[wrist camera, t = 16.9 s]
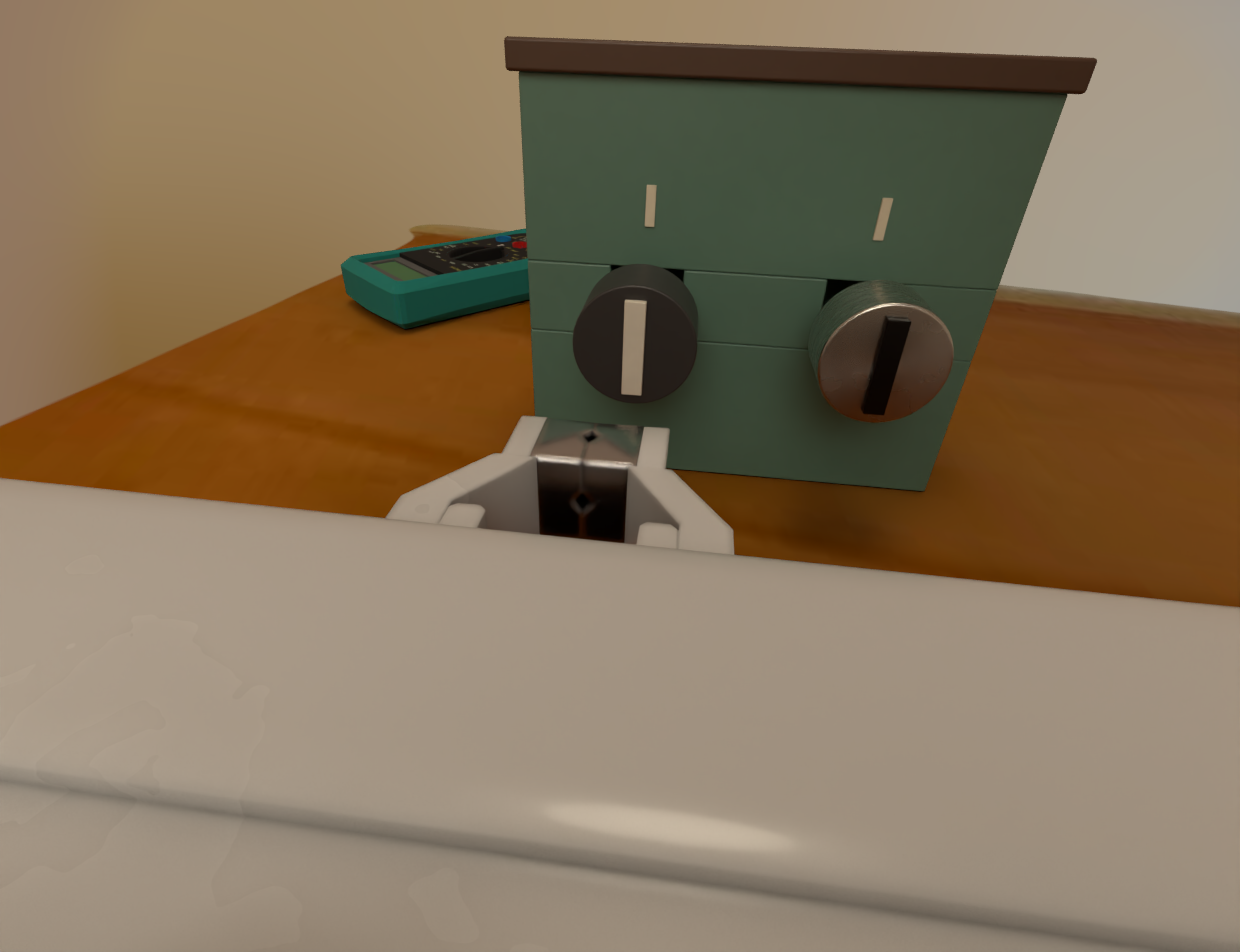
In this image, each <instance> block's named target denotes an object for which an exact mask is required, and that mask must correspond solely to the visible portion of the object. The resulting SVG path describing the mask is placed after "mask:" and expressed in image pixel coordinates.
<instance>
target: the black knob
mask: <svg viewBox="0 0 1240 952" xmlns="http://www.w3.org/2000/svg"><path fill="white" fill-rule="evenodd" d="M697 340H698V311H697V307H696V303H695V301H694V298H693V296H692V294H691V293H690V291H689V289H688V288H687V287H686V285H685V284H684V283H683V282H682V281H681V280H680V279H679V278H678V277H676V276H675V275H674V274H672V273H671V272H669V271H667V270H665V269H663V268H660V267H657V266H654V265H649V264H631V265H626V266H622V267H619V268H617V269H615V270H613V271H611V272H610V273H608V274H606V275H605V276H604V277H603V278H601V279H600V281H599V282H598V283H597V284H596V285H595V286H594V288H593V289H592V291H591V293H590V295H589V297H588V299H587V301H586V303H585V305H584V307H583V309H582V311H581V313H580V315H579V317H578V319H577V321H576V324H575V327H574V331H573V339H572V345H573V353H574V358H575V360H576V363H577V366H578V368H579V370H580V372H581V373H582V375H583V376H584V378H585V379H586V380H587V381H588V382H589V383H590V385H592V386H593V387H594V388H595V389H596V390H597V391H599V392H600V393H602V394H603V395H605V396H607V397H609V398H612V399H614V400H617V401H621V402H625V403H634V404H640V403H648V402H653V401H656V400H659V399H662V398H664V397H666V396H668V395H670V394H671V393H673V392H674V391H675V390H677V389H678V388H679V387H680V386H681V385H682V384H683V383H684V382H685V380H686V379H687V377H688V376H689V374H690V373H691V371H692V368H693V366H694V363H695V360H696V355H697Z"/></svg>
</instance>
